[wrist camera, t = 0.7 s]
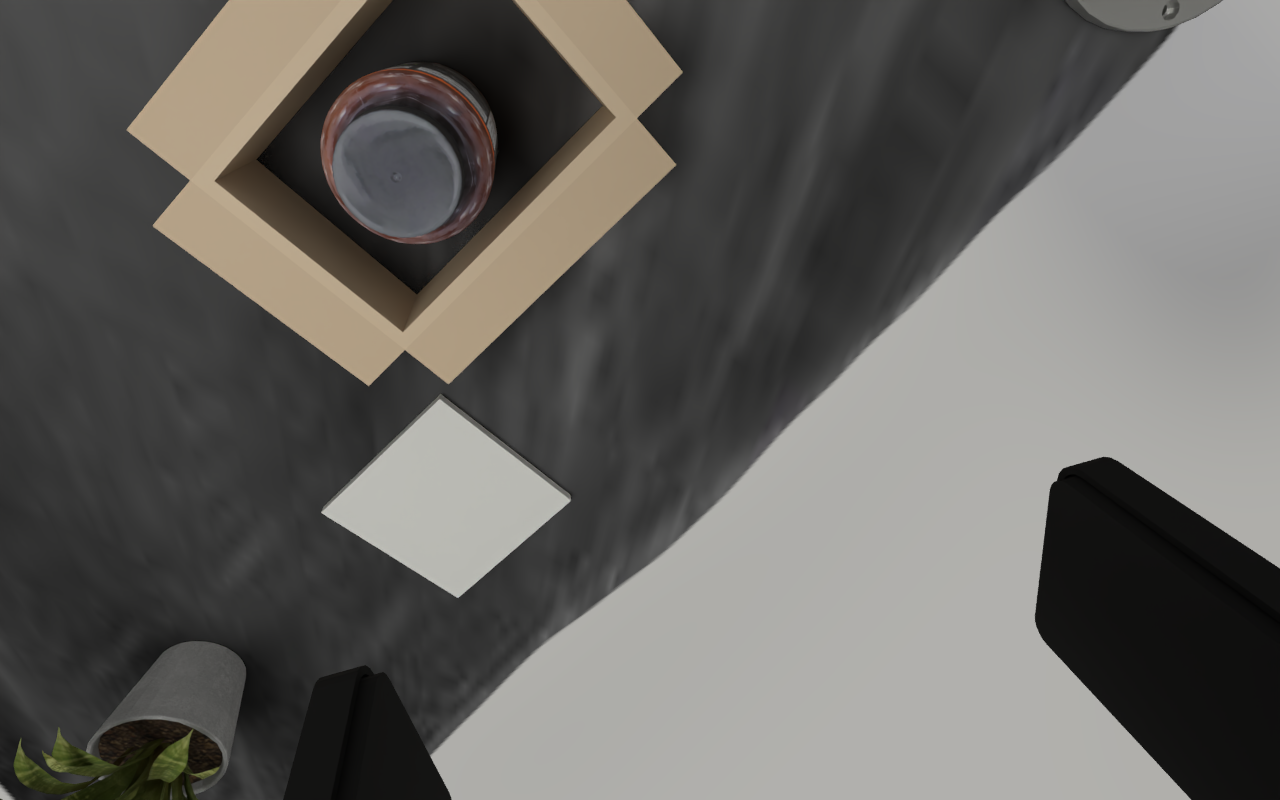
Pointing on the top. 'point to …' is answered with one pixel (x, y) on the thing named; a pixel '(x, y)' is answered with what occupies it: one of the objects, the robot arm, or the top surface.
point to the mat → (447, 498)
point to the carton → (327, 258)
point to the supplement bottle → (411, 152)
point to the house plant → (156, 733)
